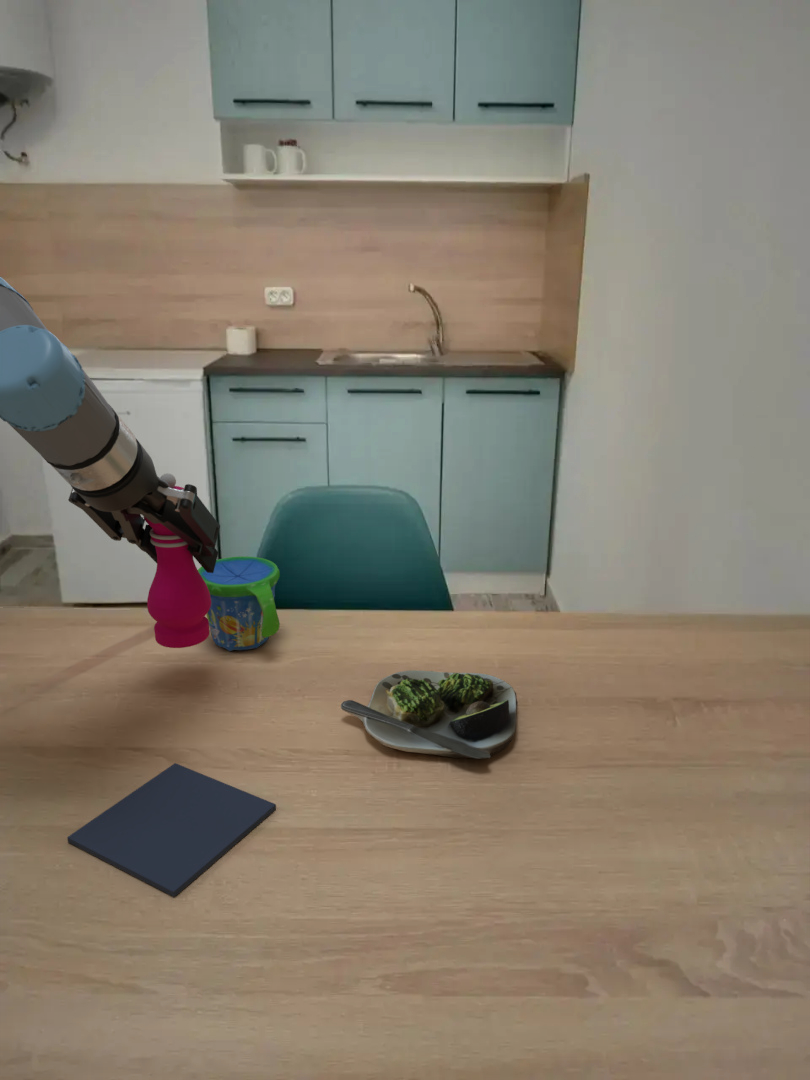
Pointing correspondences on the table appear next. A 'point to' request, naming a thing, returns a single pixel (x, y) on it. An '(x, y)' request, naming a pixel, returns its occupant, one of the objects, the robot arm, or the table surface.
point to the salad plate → (440, 713)
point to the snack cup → (242, 601)
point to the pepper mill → (176, 589)
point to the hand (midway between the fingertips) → (190, 560)
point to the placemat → (172, 827)
